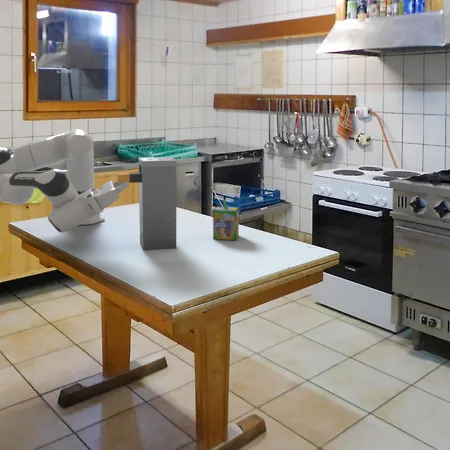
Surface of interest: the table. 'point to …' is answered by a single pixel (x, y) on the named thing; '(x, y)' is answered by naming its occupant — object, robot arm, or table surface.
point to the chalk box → (225, 222)
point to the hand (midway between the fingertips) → (126, 181)
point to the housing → (157, 203)
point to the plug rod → (129, 177)
